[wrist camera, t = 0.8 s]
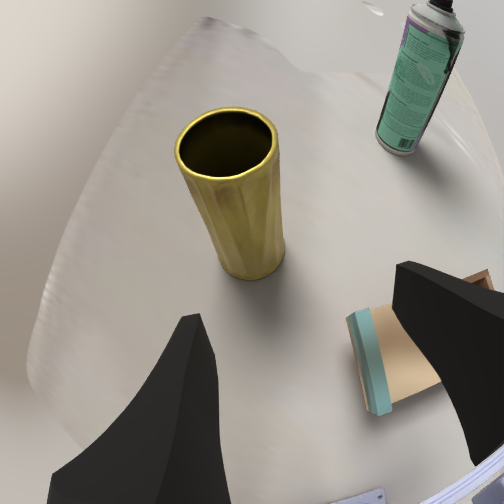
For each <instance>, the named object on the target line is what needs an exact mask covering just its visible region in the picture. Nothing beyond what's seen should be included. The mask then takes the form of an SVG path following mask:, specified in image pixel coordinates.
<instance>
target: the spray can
mask: <svg viewBox="0 0 504 504" xmlns="http://www.w3.org/2000/svg"><path fill="white" fill-rule="evenodd" d="M452 2H453V0H427V1H426V3H424V4H423V3H422V4H412V5H411V10H410V11H409V12H408V16H407V21H406V25H405V29H404V33H403V38H402V42H401V45H400V49H399V54H398V57H397V61H396V65H395V68H394V72H393V75H392V79H391V82H390V86H389V89H388V93H387V96H386V99H385V102H384V106H383V109H382V112H381V115H380V118H379V121H378V124H377V128H376V132H375V135H376V138H377V140H378V142H379V143H380V145H381V146H382V147H384V148H385V149H386V150H388V151H389V152H391V153H393V154H396V155H400V156H407V155H410V154H412V153H413V152H414V151H415V149H416V147H417V145H418V143H419V141H420V139H421V137H422V135H423V133H424V131H425V129H426V127H427V125H428V123H429V121H430V119H431V117H432V115H433V113H434V111H435V108H436V106H437V104H438V102H439V100H440V97H441V95H442V93H443V91H444V88H445V86H446V84H447V81H448V79H449V76H450V74H451V72H452V69H453V67H454V64H455V61H456V59H457V56H458V54H459V51H460V49H461V46H462V43H463V40H464V35H463V34H464V33H465V29H464V27H463V26H462V25H461V24H460V23H459V21H458V20H457V19H456V17H455V16H456V14H455V12H453V9H452V8H451V7H452Z"/></svg>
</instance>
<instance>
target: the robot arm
mask: <svg viewBox="0 0 504 504" xmlns="http://www.w3.org/2000/svg"><path fill="white" fill-rule="evenodd" d="M392 310H393V311H394V313H395V315H396V317H397V319H398V320H399V322H400V324H401V325H402V327H403V329H404V330H405V331H406V333H407V334H408V335H409V337H410V338H411V339H412V341H413V342H414V343H415V345H416V346H417V347H418V348H419V350H420V351H421V352H422V354H423V355H424V356H425V358H426V359H427V360H428V362H429V363H430V364H431V366H432V367H433V368H434V370H435V371H436V373H437V374H438V376H439V378H440V380H441V381H442V383H443V385H444V387H445V389H446V391H447V393H448V395H449V397H450V399H451V401H452V403H453V406H454V408H455V410H456V412H457V415H458V418H459V420H460V423H461V426H462V428H463V431H464V435H465V438H466V442H467V445H468V449H469V454H470V458H471V460H472V462H473V464H474V465H475V466H477V465H478V464H480V463H481V462H482V461H484V460H485V459H486V458H487V457H489V456H490V455H491V454H492V453H494V452H495V451H496V450H497V449H498V448H500V447H501V446H502V445H503V444H504V293H502V292H498V291H494V290H490V289H487V288H484V287H481V286H478V285H475V284H472V283H469V282H467V281H464V280H461V279H459V278H456V277H454V276H451V275H448V274H446V273H443V272H441V271H438V270H436V269H433V268H430V267H428V266H425V265H422V264H419V263H416V262H412V261H406V262H403V263H400V264H396V274H395V285H394V294H393V302H392ZM502 467H504V446H502V447H501V448H500V449H499V450H498V451H497V452H495V453H494V454H493V455H492V456H490V457H489V458H488V459H487V460H485V461H484V462H483V463H482V464H480V465H479V466H478V467H476V468H475V469H474V470H472V471H471V472H469V473H468V474H467V475H465V476H464V477H462V478H461V479H459V480H458V481H456V482H455V483H453V484H452V485H450V486H448V487H447V488H445V489H444V490H442V491H440V492H439V493H437V494H435V495H434V496H432V497H430V498H428V499H427V500H425V501H423V502H421V503H419V504H455V503H456V502H458V501H459V500H461V499H462V498H464V497H465V496H467V495H468V494H469V493H471V492H472V491H474V490H475V489H476V488H478V487H479V486H480V485H482V484H483V483H484V482H485V481H487V480H488V479H489V478H490V477H492V476H493V475H494V474H495V473H496V472H498V471H499V470H500V469H501V468H502ZM379 495H382V496H381V497H380V498H378V496H379ZM472 502H473V504H504V473H503V474H502V475H500V476H499V477H498V478H496V479H495V480H494V481H492V482H491V483H490V484H489V485H487V486H486V487H485V488H483V489H482V490H481V491H480V492H479V493H477V494H476V495H475V496H474V497H473V498H472ZM47 504H231V501H230V496H229V492H228V487H227V481H226V476H225V471H224V465H223V459H222V452H221V446H220V432H219V389H218V375H217V367H216V360H215V354H214V352H213V349H212V346H211V344H210V341H209V338H208V336H207V333H206V330H205V327H204V325H203V322H202V319H201V316H200V313H198V314H193V315H188V316H182V317H181V319H180V321H179V323H178V324H177V326H176V328H175V330H174V332H173V334H172V336H171V338H170V340H169V342H168V344H167V346H166V347H165V349H164V351H163V353H162V355H161V356H160V358H159V360H158V362H157V364H156V365H155V367H154V368H153V370H152V372H151V373H150V375H149V376H148V378H147V380H146V381H145V383H144V384H143V386H142V387H141V389H140V390H139V392H138V393H137V394H136V396H135V397H134V398H133V400H132V401H131V402H130V404H129V405H128V406H127V407H126V409H125V410H124V411H123V412H122V413H121V414H120V415H119V417H118V418H117V419H116V420H115V421H114V422H113V423H112V424H111V425H110V426H109V428H108V429H107V430H106V431H105V432H104V433H103V434H102V435H101V436H100V437H99V438H98V439H97V440H95V441H94V442H93V443H92V444H91V445H90V446H89V447H88V448H86V449H85V450H84V451H83V452H82V453H81V454H79V455H78V456H77V457H75V458H74V459H73V460H72V461H70V462H69V463H67V464H66V465H65V466H63V467H62V468H60V469H59V470H58V471H56V472H55V473H53V474H52V478H51V482H50V488H49V494H48V499H47ZM330 504H386V497H385V490H384V489H383V488H377V489H375V490H372V491H369V492H366V493H363V494H360V495H357V496H354V497H351V498H347V499H344V500H341V501H337V502H333V503H330Z"/></svg>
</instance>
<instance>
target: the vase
mask: <svg viewBox="0 0 504 504" xmlns="http://www.w3.org/2000/svg"><path fill="white" fill-rule="evenodd" d="M174 155H175V159H176V162H177V164H178V166H179V169H180V171H181V173H182V175H183V177H184V179H185V181H186V184H187V186H188V188H189V191H190V193H191V195H192V197H193V200H194V202H195V204H196V206H197V208H198V210H199V212H200V214H201V216H202V218H203V220H204V223H205V225H206V227H207V229H208V232H209V234H210V237H211V240H212V242H213V244H214V247H215V250H216V252H217V254H218V258H219V261H220V263H221V265H222V266H223V268H224V269H225V270H226V271H227V272H228V273H229V274H231V275H232V276H234V277H237V278H240V279H244V280H256V279H261V278H264V277H266V276H268V275H269V274H271V273H272V272H273V271H274V270H275V269H276V268H277V267H278V266H279V264H280V262H281V260H282V258H283V255H284V252H285V245H284V238H283V230H282V216H281V199H280V161H279V156H280V152H279V143H278V132H277V130H276V127H275V126H274V124H273V123H272V122H271V121H270V120H269V119H268V118H267V117H266V116H264V115H263V114H261V113H259V112H257V111H255V110H251V109H248V108H244V107H223V108H218V109H214V110H210V111H208V112H205V113H203V114H202V115H200V116H198V117H197V118H195V119H194V120H192V121H191V122H190V123H189V124H188V125H187V126H186V127H185V128H184V129H183V130H182V131H181V133H180V134H179V136H178V137H177V139H176V142H175V147H174Z"/></svg>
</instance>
